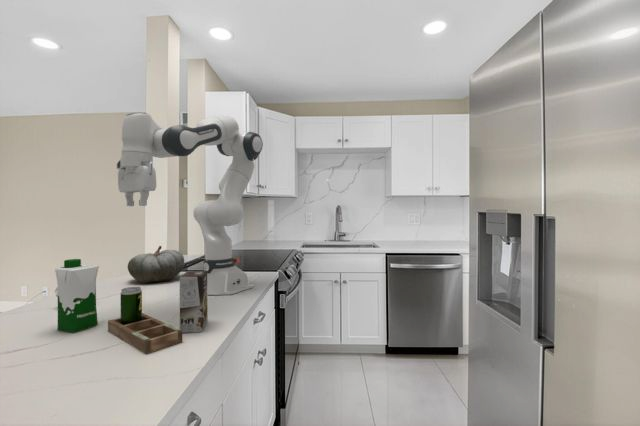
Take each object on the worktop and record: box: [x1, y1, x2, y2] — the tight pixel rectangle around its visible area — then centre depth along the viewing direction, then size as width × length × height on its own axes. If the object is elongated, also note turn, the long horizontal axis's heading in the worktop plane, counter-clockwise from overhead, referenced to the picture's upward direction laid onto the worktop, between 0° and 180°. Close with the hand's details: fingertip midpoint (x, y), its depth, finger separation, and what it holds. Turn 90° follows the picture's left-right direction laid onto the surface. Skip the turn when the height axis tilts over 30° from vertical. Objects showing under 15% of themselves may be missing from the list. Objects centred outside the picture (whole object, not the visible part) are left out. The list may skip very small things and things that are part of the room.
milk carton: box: [54, 258, 100, 334], centre depth 97 cm, size 9×9×20 cm
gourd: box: [127, 245, 185, 284], centre depth 161 cm, size 25×25×17 cm
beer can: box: [120, 286, 143, 325], centre depth 95 cm, size 5×5×12 cm
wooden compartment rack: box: [107, 312, 183, 355], centre depth 90 cm, size 9×24×3 cm, turn 52°
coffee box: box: [179, 270, 209, 334], centre depth 97 cm, size 9×6×16 cm
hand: (136, 206), depth 104 cm, fingers open, 8 cm apart
